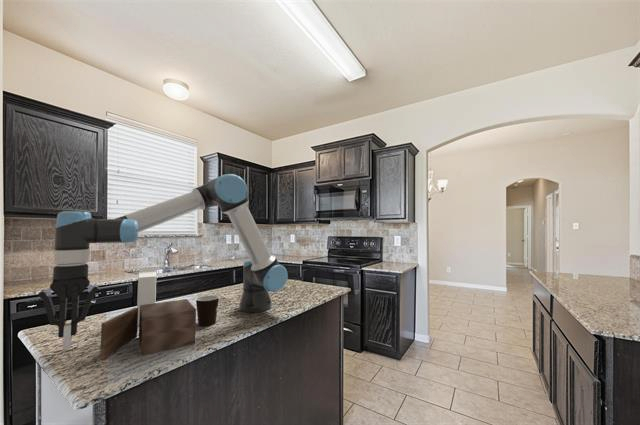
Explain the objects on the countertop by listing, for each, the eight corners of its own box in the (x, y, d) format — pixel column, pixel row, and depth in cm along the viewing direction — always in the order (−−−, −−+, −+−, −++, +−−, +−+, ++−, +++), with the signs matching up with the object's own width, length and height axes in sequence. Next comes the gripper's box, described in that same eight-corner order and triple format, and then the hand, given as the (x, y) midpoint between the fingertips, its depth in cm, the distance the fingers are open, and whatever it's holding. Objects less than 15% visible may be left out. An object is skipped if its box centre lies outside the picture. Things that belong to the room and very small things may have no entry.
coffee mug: (210, 328, 104) (210, 301, 104) (190, 326, 105) (191, 300, 106) (226, 318, 115) (227, 294, 116) (208, 317, 117) (209, 293, 117)
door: (138, 336, 95) (139, 307, 95) (104, 358, 78) (106, 323, 79) (130, 336, 94) (132, 307, 95) (95, 359, 78) (97, 323, 78)
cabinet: (185, 328, 103) (186, 298, 104) (195, 343, 89) (196, 309, 90) (138, 337, 95) (139, 305, 95) (140, 355, 81) (142, 318, 81)
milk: (137, 322, 110) (139, 267, 112) (155, 319, 113) (156, 266, 115) (136, 326, 105) (138, 269, 107) (154, 324, 108) (156, 268, 110)
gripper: (101, 261, 86) (97, 338, 84) (43, 264, 78) (38, 349, 77) (99, 264, 80) (95, 346, 78) (36, 267, 72) (30, 359, 71)
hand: (67, 347), depth 77 cm, fingers closed
